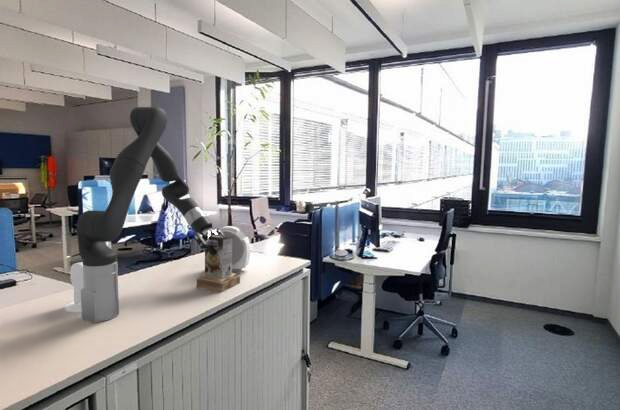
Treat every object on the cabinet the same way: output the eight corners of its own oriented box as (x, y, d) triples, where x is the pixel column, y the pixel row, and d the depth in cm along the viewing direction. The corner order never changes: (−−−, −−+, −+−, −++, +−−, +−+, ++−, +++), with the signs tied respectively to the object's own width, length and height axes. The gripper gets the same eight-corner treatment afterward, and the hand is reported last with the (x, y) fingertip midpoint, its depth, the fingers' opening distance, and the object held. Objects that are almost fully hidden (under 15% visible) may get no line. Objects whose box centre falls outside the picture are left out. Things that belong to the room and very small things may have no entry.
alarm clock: (250, 268, 166) (251, 226, 164) (245, 274, 158) (246, 229, 156) (213, 266, 168) (213, 224, 166) (206, 272, 160) (206, 227, 157)
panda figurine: (113, 304, 121) (111, 261, 120) (77, 315, 112) (75, 269, 110) (93, 296, 127) (91, 255, 126) (58, 307, 118) (55, 262, 116)
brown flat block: (221, 292, 135) (221, 281, 135) (196, 287, 140) (196, 277, 140) (239, 282, 146) (239, 273, 146) (216, 278, 151) (216, 269, 151)
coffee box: (204, 275, 142) (203, 235, 140) (215, 271, 148) (214, 232, 146) (222, 279, 138) (222, 238, 136) (232, 274, 144) (232, 235, 142)
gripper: (191, 217, 137) (215, 250, 133) (214, 213, 150) (237, 243, 146) (180, 229, 139) (204, 262, 136) (204, 224, 152) (227, 254, 149)
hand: (221, 252), depth 141 cm, fingers open, 7 cm apart
